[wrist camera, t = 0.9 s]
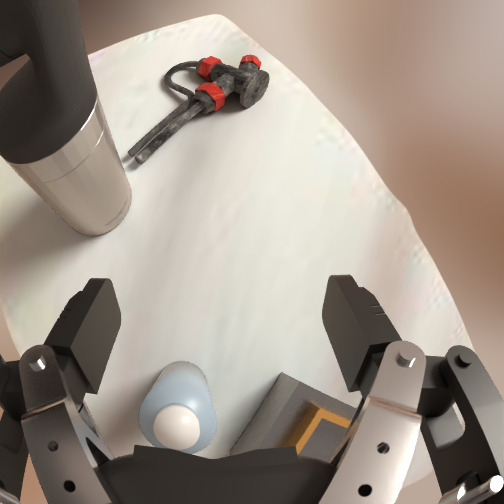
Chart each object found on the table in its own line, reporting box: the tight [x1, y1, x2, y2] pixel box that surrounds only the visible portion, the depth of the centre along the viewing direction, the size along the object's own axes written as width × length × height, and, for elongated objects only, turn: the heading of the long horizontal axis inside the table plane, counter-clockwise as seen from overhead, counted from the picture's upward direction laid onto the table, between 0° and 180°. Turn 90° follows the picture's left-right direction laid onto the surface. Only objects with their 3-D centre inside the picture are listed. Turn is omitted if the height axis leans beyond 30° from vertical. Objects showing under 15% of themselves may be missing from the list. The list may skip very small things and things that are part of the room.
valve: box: [128, 55, 269, 164], centre depth 37 cm, size 6×26×15 cm
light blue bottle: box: [139, 361, 217, 454], centre depth 22 cm, size 6×6×15 cm
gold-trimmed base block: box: [230, 372, 356, 462], centre depth 26 cm, size 16×12×8 cm
